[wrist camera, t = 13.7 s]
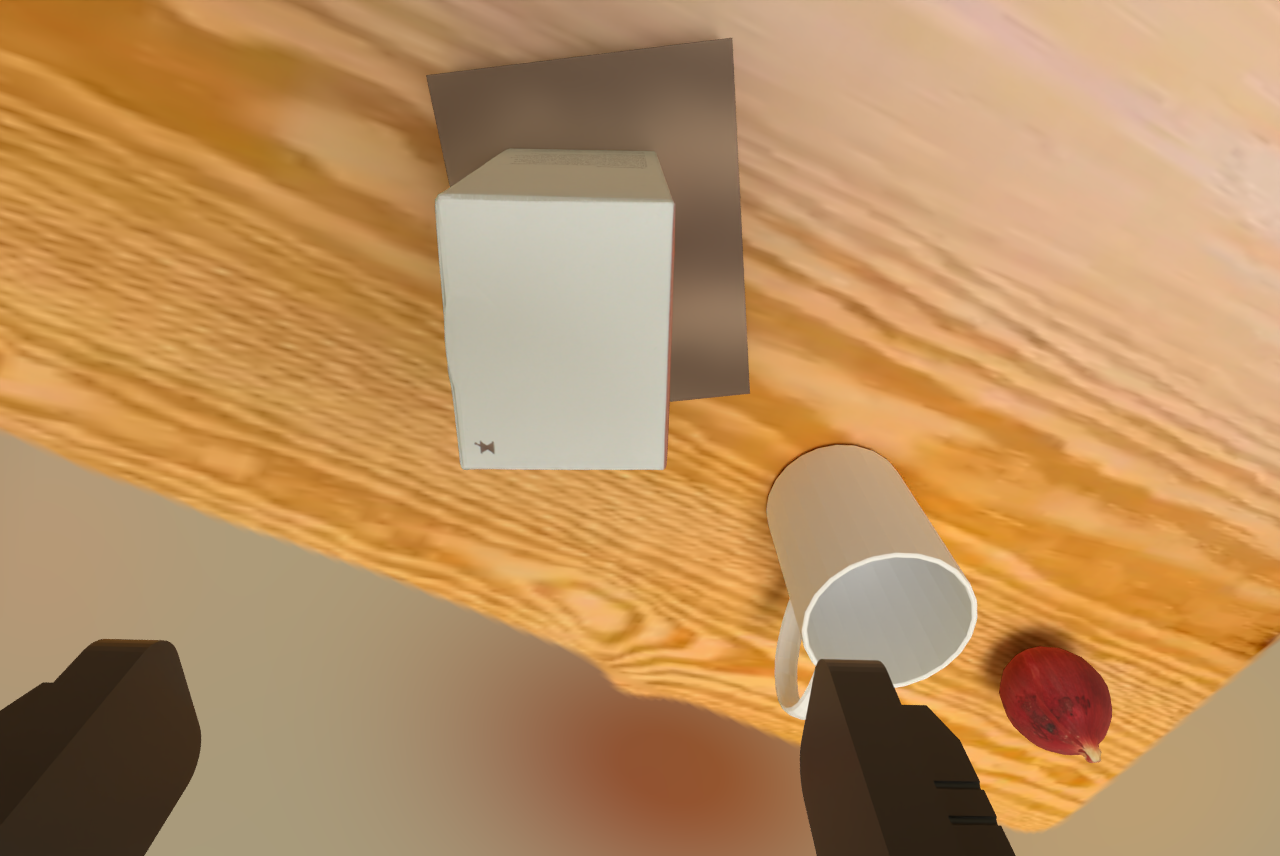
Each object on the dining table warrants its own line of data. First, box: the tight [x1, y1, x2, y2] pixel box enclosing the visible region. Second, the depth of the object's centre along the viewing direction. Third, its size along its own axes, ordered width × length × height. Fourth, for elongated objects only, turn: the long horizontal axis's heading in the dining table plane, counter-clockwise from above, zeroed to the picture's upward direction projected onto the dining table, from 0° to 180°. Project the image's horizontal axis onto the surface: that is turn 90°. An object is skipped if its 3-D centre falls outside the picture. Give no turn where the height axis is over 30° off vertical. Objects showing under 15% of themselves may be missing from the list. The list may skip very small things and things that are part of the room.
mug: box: [766, 445, 977, 720], centre depth 39 cm, size 12×8×10 cm, turn 154°
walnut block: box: [426, 38, 750, 402], centre depth 35 cm, size 15×12×5 cm
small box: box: [435, 148, 676, 470], centre depth 26 cm, size 8×6×13 cm
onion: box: [999, 646, 1112, 763], centre depth 45 cm, size 6×6×8 cm
